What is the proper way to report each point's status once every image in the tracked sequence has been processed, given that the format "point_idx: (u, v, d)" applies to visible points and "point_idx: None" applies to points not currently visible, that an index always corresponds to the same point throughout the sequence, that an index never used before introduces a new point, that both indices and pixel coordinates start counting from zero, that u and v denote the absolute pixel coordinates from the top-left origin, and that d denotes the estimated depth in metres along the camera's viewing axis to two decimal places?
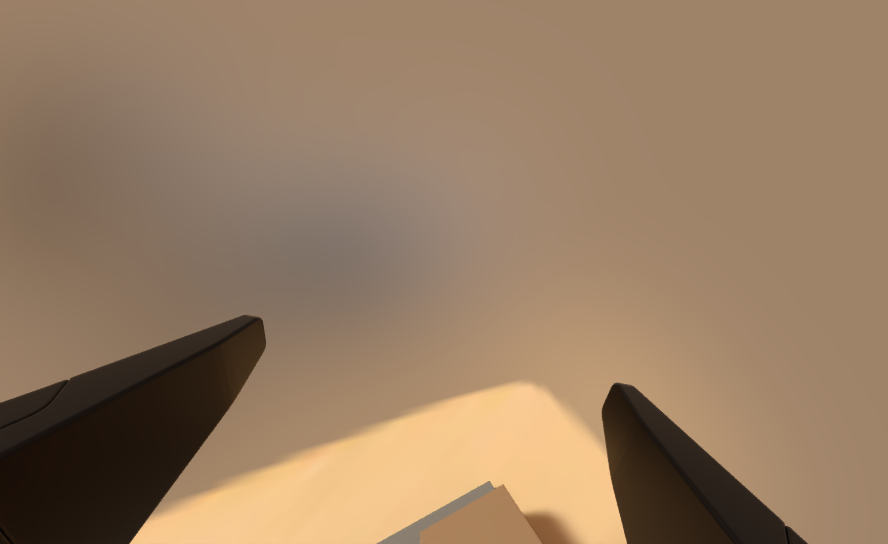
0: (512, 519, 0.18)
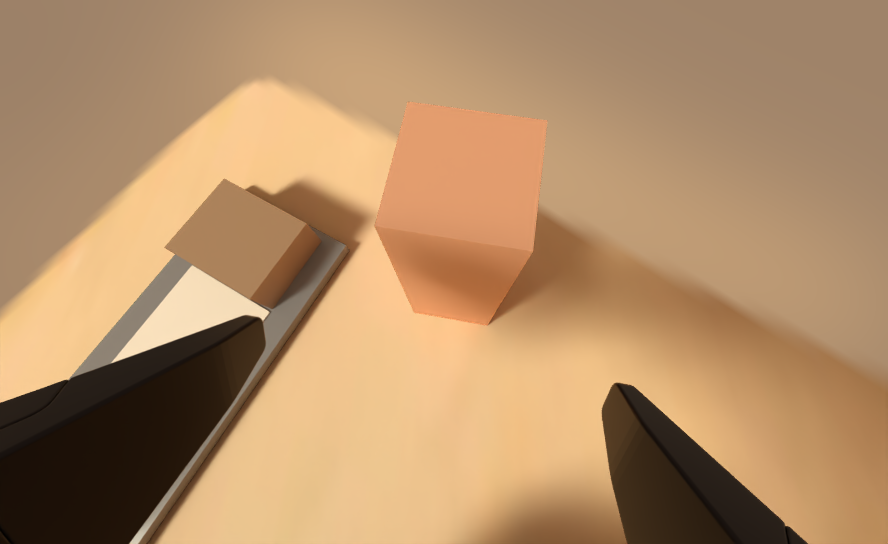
0: (238, 198, 0.20)
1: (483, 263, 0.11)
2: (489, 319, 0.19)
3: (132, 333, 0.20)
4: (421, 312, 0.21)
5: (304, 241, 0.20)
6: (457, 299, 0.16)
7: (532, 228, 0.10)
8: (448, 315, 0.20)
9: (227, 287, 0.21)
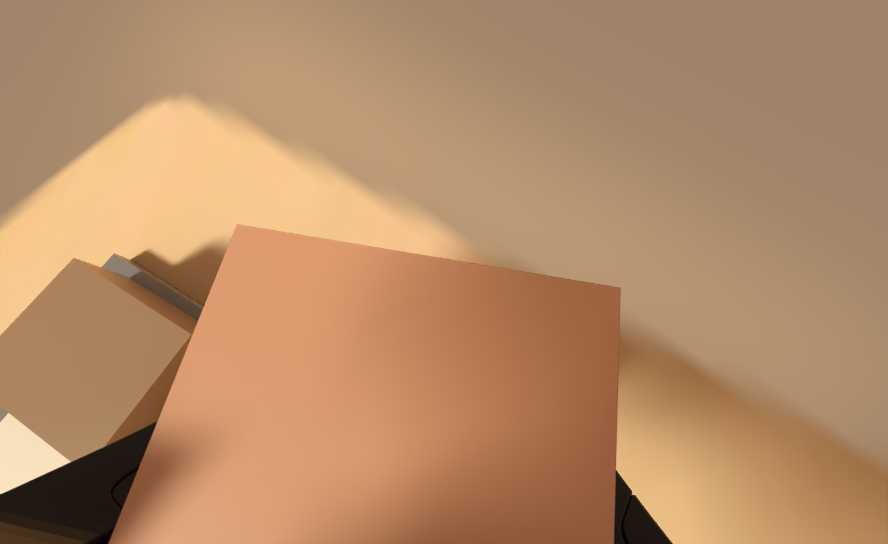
0: (91, 291, 0.13)
1: None
2: None
3: None
4: None
5: None
6: None
7: None
8: None
9: None
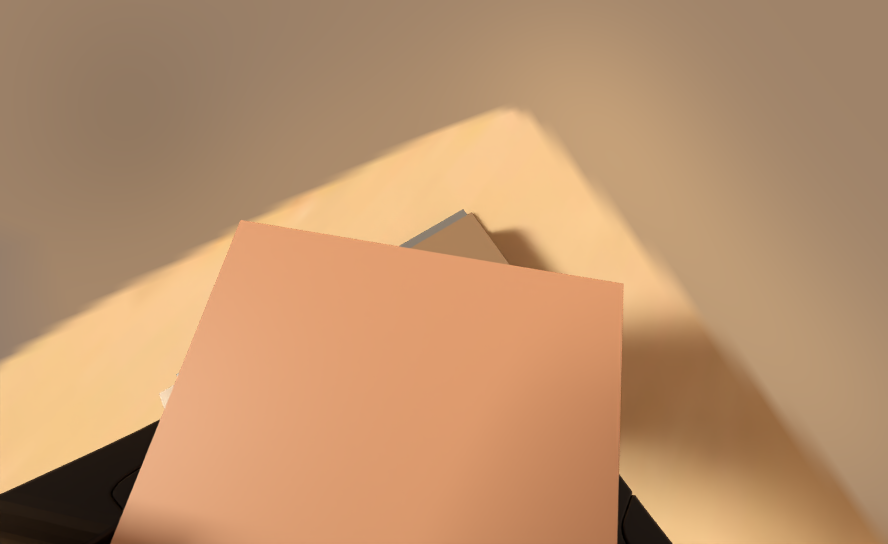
0: (478, 238, 0.20)
1: None
2: None
3: None
4: None
5: None
6: None
7: None
8: None
9: None
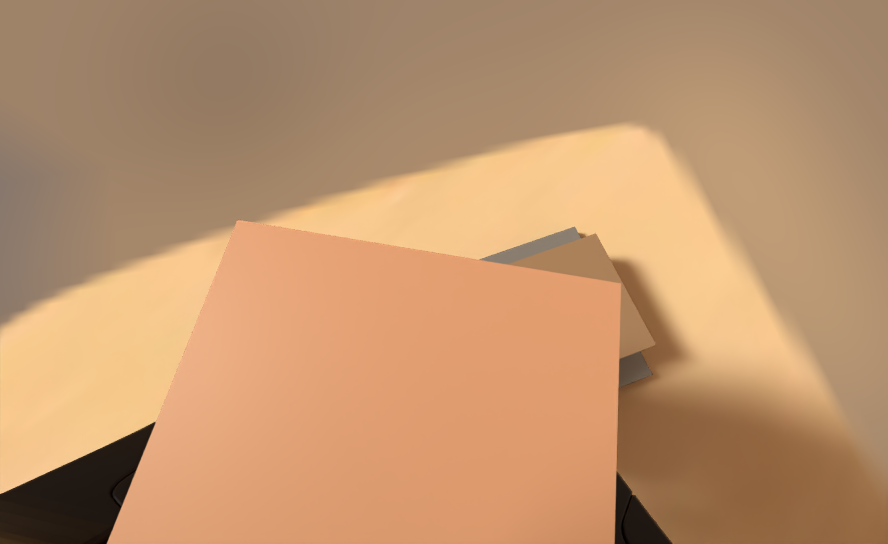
0: (599, 265, 0.17)
1: None
2: None
3: None
4: None
5: None
6: None
7: None
8: None
9: None
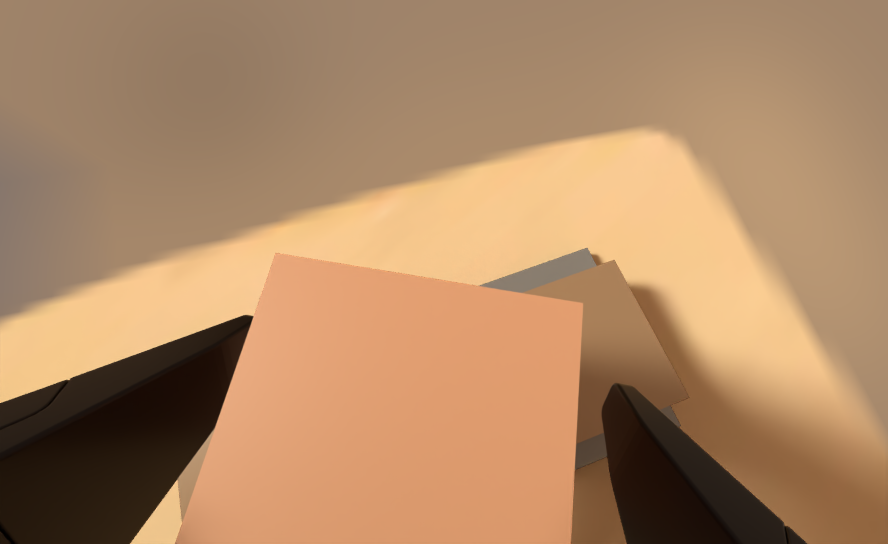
0: (619, 298, 0.15)
1: None
2: None
3: None
4: None
5: None
6: None
7: None
8: None
9: None
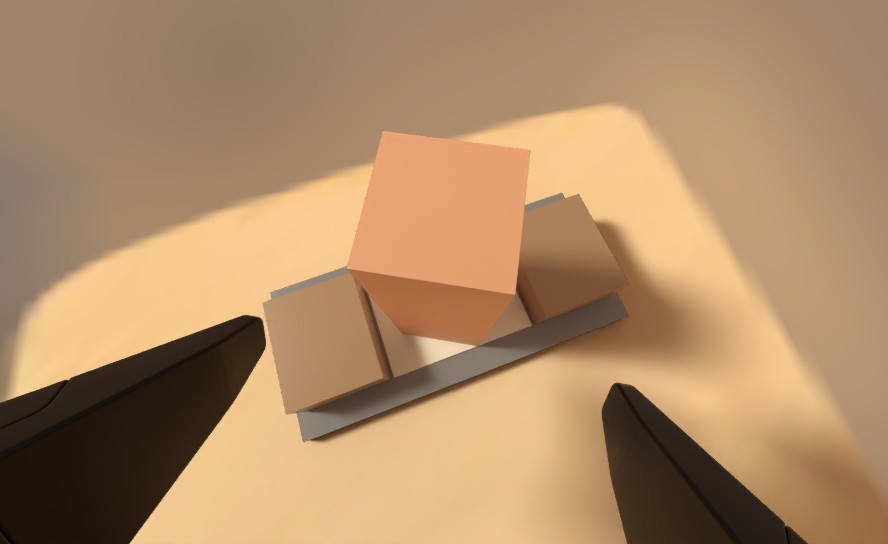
0: (581, 220, 0.20)
1: (465, 301, 0.11)
2: (479, 342, 0.19)
3: None
4: (409, 334, 0.20)
5: (608, 294, 0.20)
6: (444, 326, 0.16)
7: (514, 269, 0.09)
8: (437, 337, 0.20)
9: None
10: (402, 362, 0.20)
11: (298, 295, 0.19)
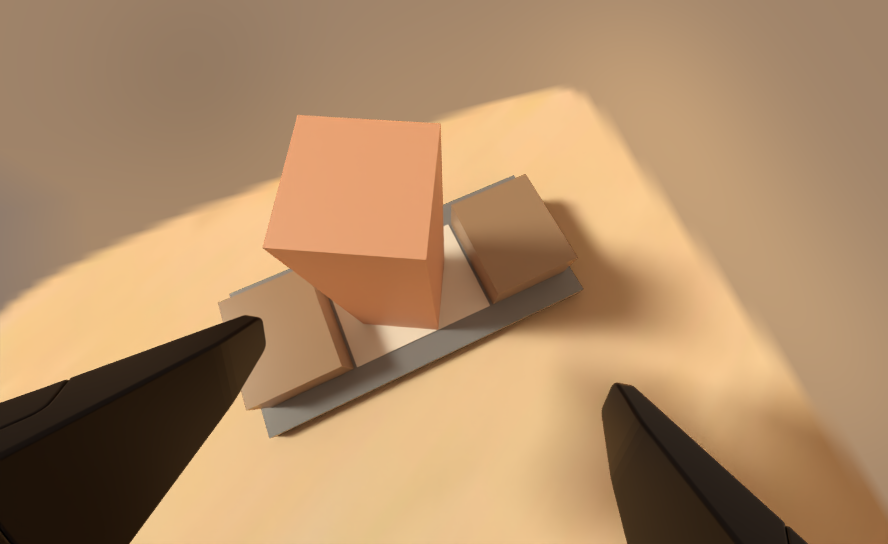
0: (529, 198, 0.21)
1: (390, 274, 0.11)
2: (435, 324, 0.19)
3: None
4: (370, 323, 0.21)
5: (560, 268, 0.20)
6: (392, 308, 0.16)
7: (425, 236, 0.10)
8: (396, 323, 0.20)
9: (466, 261, 0.22)
10: (364, 351, 0.20)
11: (253, 292, 0.19)
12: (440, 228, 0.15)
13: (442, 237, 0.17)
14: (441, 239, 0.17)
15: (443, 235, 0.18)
